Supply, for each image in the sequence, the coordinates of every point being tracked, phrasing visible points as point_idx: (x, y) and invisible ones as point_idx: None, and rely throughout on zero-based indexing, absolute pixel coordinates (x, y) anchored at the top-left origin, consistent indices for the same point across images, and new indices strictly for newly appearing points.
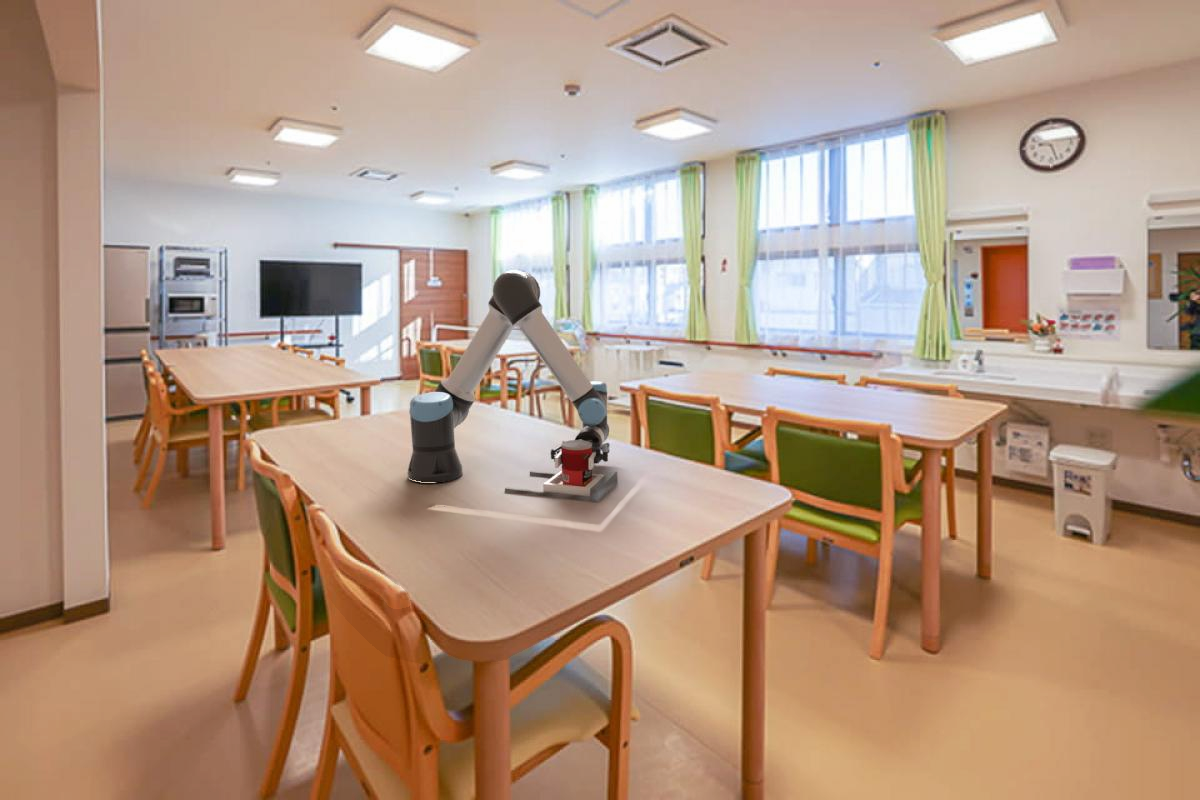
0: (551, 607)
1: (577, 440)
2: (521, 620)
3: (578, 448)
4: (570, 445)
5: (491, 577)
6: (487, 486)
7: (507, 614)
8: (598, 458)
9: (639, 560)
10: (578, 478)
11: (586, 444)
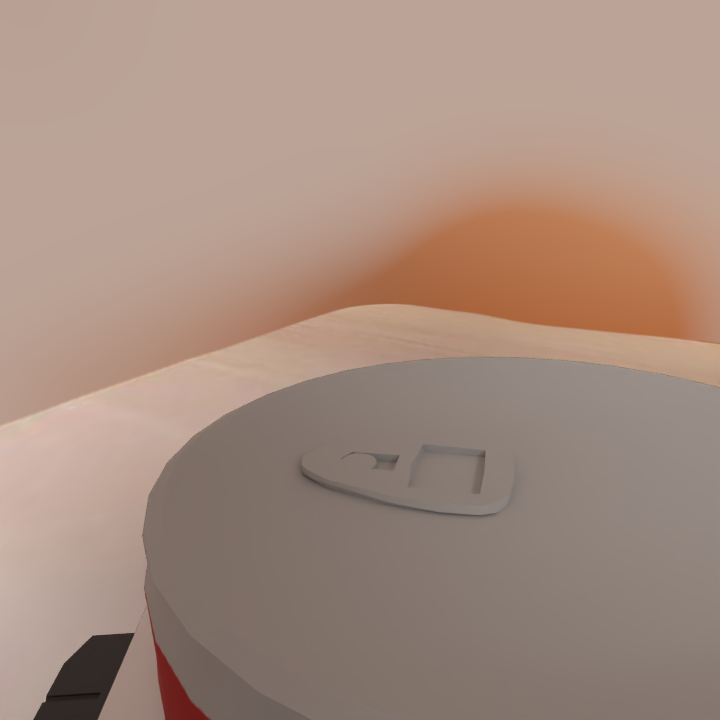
0: (292, 330)
1: None
2: (328, 318)
3: (381, 375)
4: (624, 455)
5: (429, 346)
6: None
7: (352, 320)
8: (69, 670)
9: (106, 403)
10: None
11: (291, 546)
